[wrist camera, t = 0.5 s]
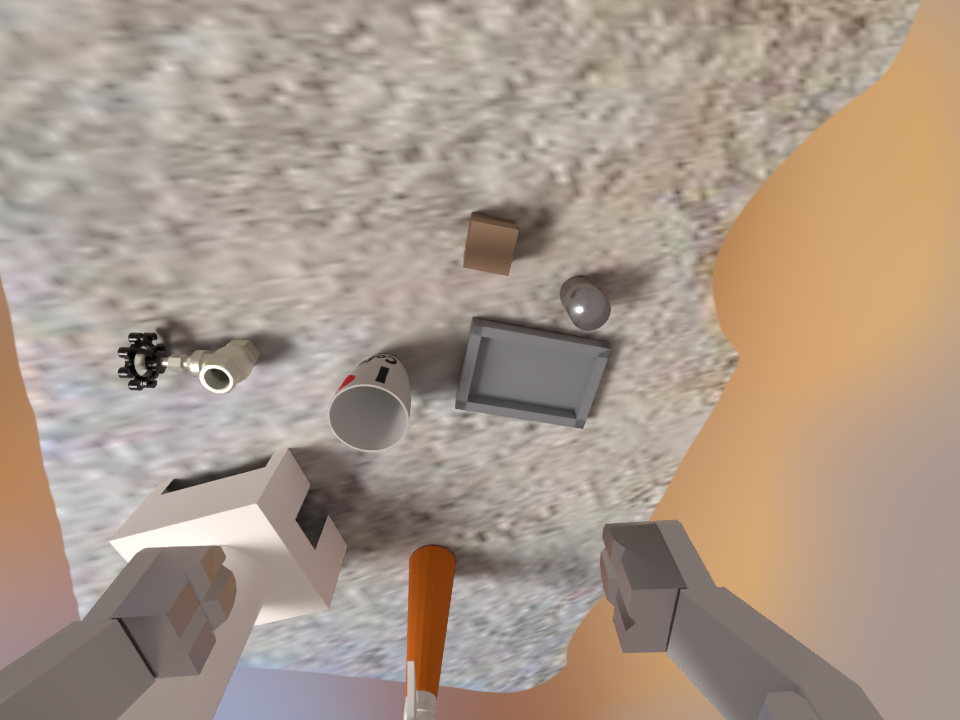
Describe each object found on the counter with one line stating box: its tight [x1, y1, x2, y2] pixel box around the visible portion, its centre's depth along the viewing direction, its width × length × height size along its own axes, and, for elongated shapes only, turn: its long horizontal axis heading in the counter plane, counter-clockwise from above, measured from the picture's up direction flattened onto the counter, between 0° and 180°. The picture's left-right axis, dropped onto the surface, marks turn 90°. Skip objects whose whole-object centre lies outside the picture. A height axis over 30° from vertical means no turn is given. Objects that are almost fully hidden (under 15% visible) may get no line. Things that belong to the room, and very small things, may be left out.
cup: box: [327, 354, 411, 452], centre depth 50 cm, size 8×8×10 cm
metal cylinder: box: [560, 276, 611, 331], centre depth 48 cm, size 4×4×6 cm
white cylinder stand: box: [109, 448, 347, 720], centre depth 51 cm, size 19×19×30 cm
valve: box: [118, 332, 260, 393], centre depth 50 cm, size 7×7×12 cm
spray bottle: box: [404, 546, 456, 720], centre depth 56 cm, size 7×11×26 cm, turn 6°
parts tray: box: [455, 318, 611, 429], centre depth 54 cm, size 11×16×2 cm
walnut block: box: [463, 213, 519, 276], centre depth 46 cm, size 4×4×5 cm
